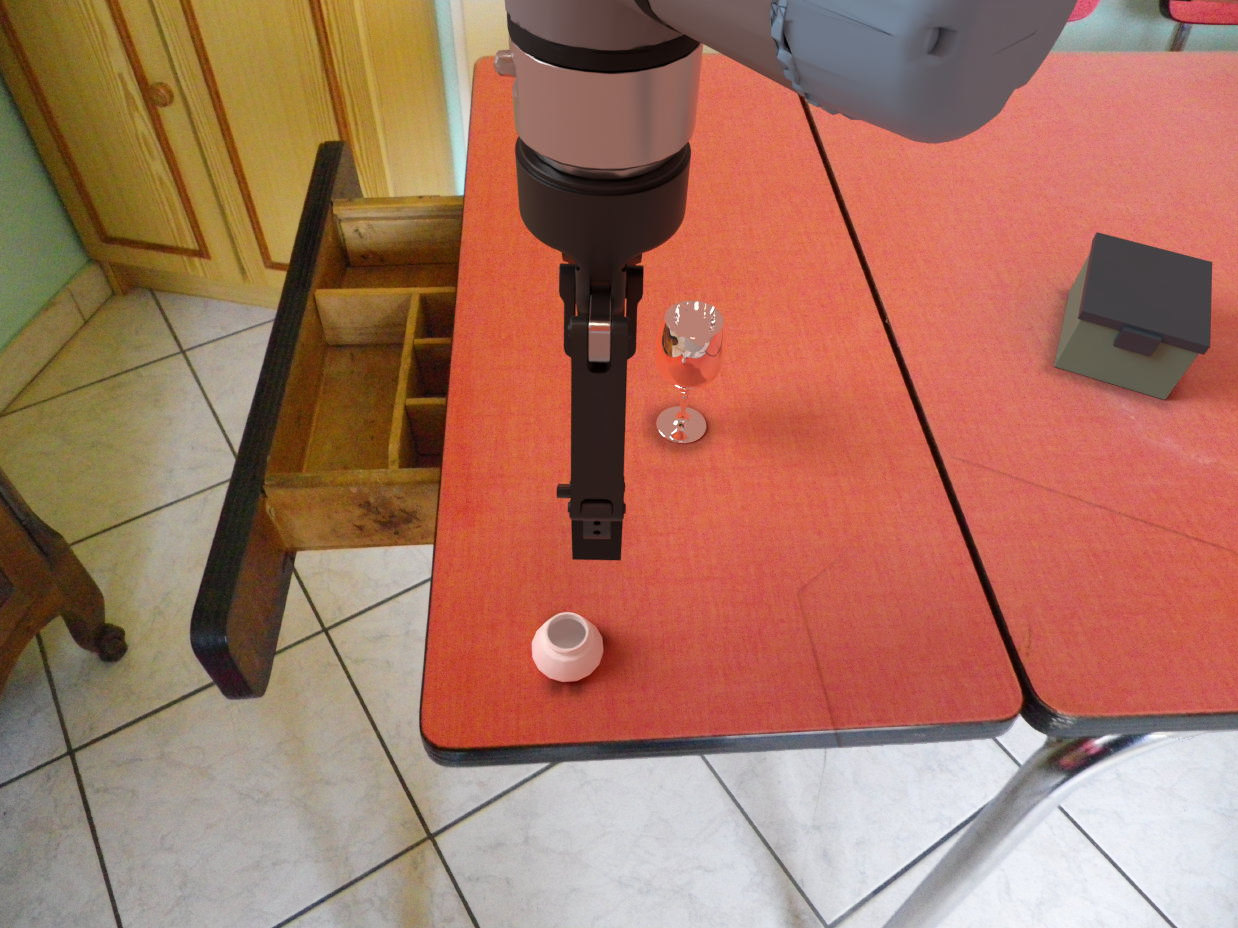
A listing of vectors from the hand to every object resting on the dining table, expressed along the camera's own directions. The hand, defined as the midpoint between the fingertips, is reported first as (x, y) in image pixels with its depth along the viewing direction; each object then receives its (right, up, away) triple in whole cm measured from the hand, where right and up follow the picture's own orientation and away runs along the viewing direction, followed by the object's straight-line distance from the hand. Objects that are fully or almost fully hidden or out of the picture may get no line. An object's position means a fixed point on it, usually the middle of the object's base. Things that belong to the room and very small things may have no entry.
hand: (599, 462), depth 52 cm
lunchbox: (+50, +12, +32) cm, 61 cm away
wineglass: (+7, +3, +23) cm, 25 cm away
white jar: (-2, -14, +9) cm, 16 cm away
